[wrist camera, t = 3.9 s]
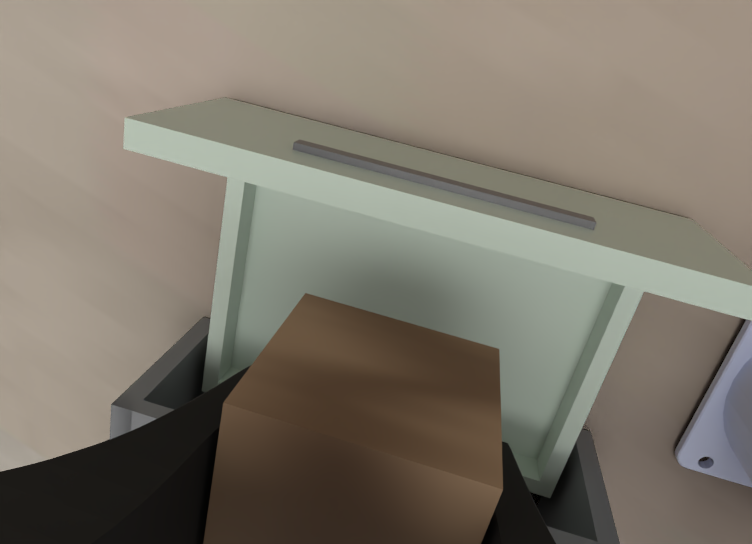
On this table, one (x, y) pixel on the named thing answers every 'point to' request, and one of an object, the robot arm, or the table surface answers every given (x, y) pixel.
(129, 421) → the grey drawer box
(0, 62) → the table surface
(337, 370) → the walnut block
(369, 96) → the table surface
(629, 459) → the table surface
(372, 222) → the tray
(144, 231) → the table surface
